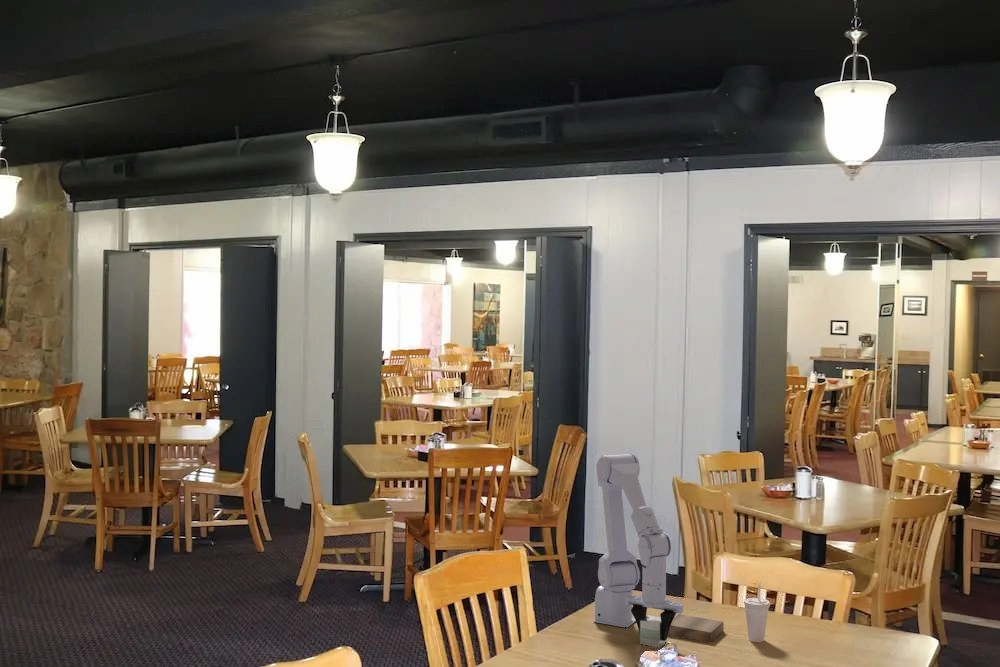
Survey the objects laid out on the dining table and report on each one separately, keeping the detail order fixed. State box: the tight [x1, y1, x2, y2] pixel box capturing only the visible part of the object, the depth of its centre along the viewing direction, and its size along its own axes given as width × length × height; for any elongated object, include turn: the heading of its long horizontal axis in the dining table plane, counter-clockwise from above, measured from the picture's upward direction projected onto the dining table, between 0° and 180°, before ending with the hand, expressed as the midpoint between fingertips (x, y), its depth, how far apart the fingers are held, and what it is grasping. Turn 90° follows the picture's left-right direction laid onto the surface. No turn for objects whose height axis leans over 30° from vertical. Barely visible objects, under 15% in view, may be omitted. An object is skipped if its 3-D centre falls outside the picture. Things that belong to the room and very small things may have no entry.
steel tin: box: [639, 614, 668, 649], centre depth 239 cm, size 5×5×6 cm
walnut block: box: [668, 613, 725, 643], centre depth 247 cm, size 12×10×3 cm
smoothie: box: [743, 583, 771, 643], centre depth 242 cm, size 6×6×14 cm
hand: (653, 637), depth 239 cm, fingers closed on steel tin, 5 cm apart
